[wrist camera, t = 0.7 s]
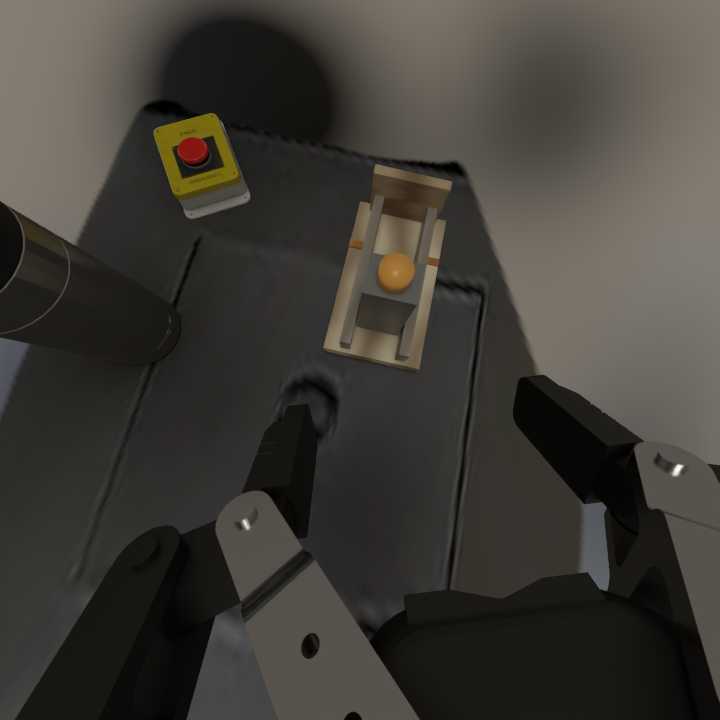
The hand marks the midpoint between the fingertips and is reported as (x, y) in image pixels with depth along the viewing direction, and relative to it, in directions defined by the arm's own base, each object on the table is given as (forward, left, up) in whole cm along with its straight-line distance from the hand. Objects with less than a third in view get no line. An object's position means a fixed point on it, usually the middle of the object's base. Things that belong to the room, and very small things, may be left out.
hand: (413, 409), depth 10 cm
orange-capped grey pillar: (-1, +12, -22) cm, 25 cm away
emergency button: (-30, +28, -25) cm, 48 cm away
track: (-1, +17, -24) cm, 29 cm away
